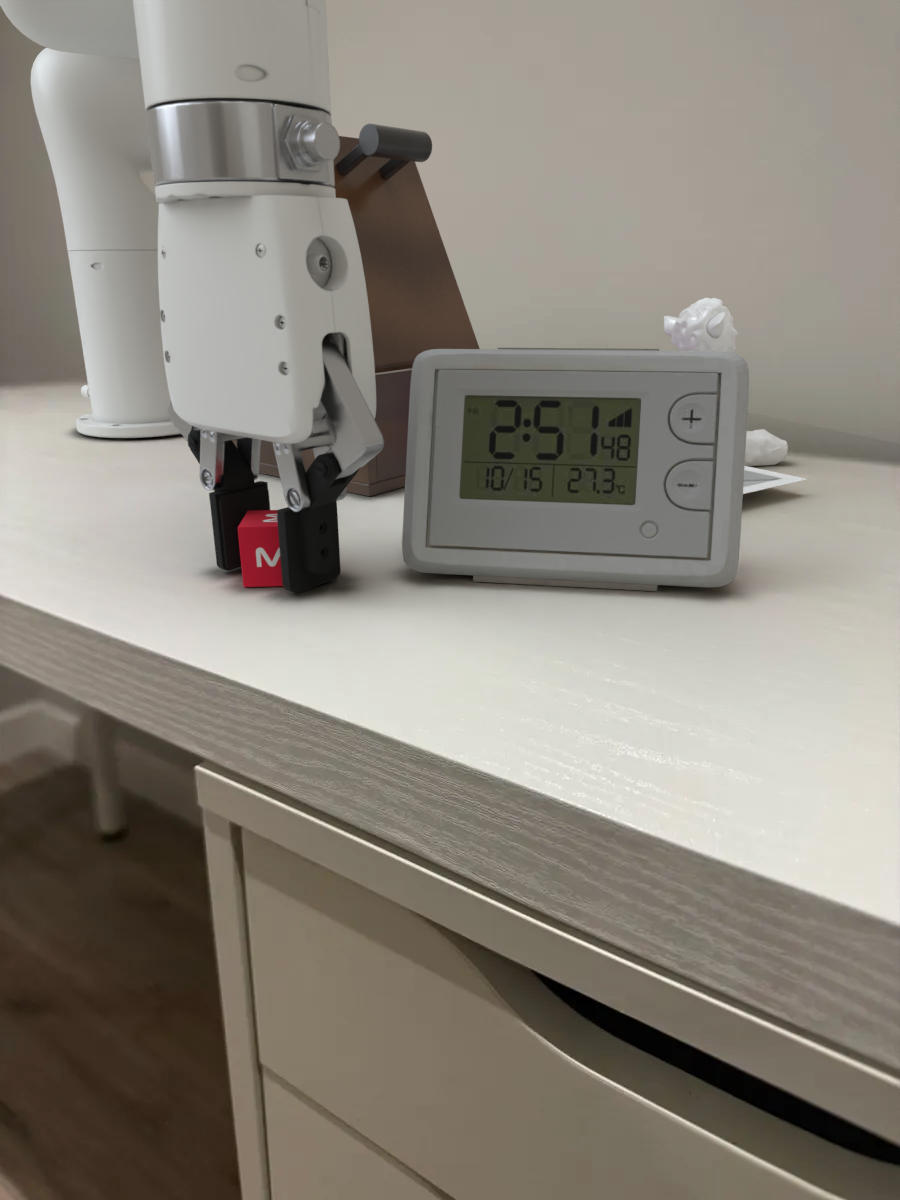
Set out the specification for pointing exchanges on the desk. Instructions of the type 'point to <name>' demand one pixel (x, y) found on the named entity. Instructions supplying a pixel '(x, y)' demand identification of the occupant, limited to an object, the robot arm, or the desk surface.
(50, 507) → the desk surface
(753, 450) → the seated beast figurine
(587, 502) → the digital clock
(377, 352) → the lid
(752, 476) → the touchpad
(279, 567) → the red letter cube
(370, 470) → the chest
